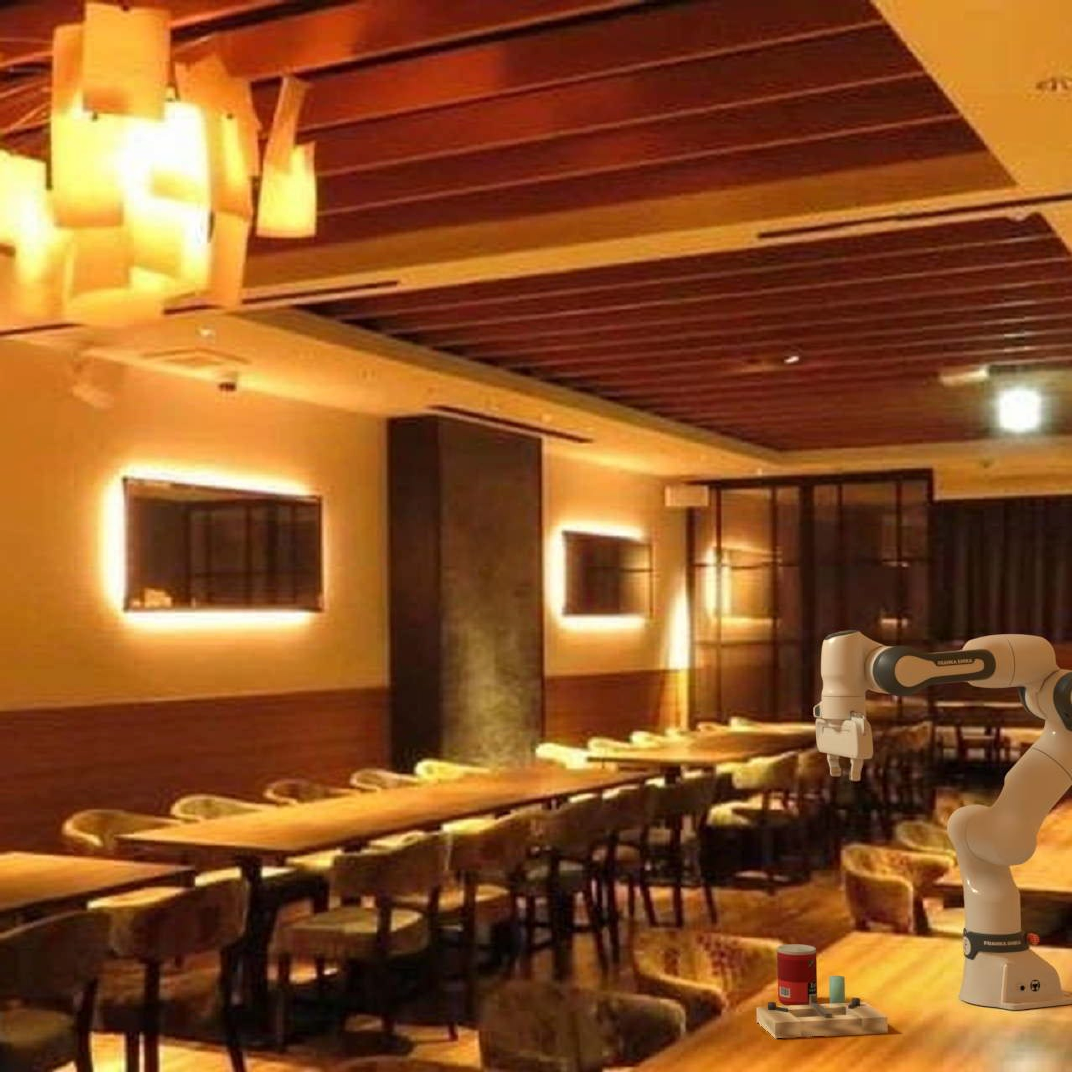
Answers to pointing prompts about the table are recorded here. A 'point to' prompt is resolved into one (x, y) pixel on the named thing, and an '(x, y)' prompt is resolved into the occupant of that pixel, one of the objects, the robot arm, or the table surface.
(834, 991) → the pale green rounded block
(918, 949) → the table surface
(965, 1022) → the table surface
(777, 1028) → the shelf
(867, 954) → the table surface
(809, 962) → the canned food
